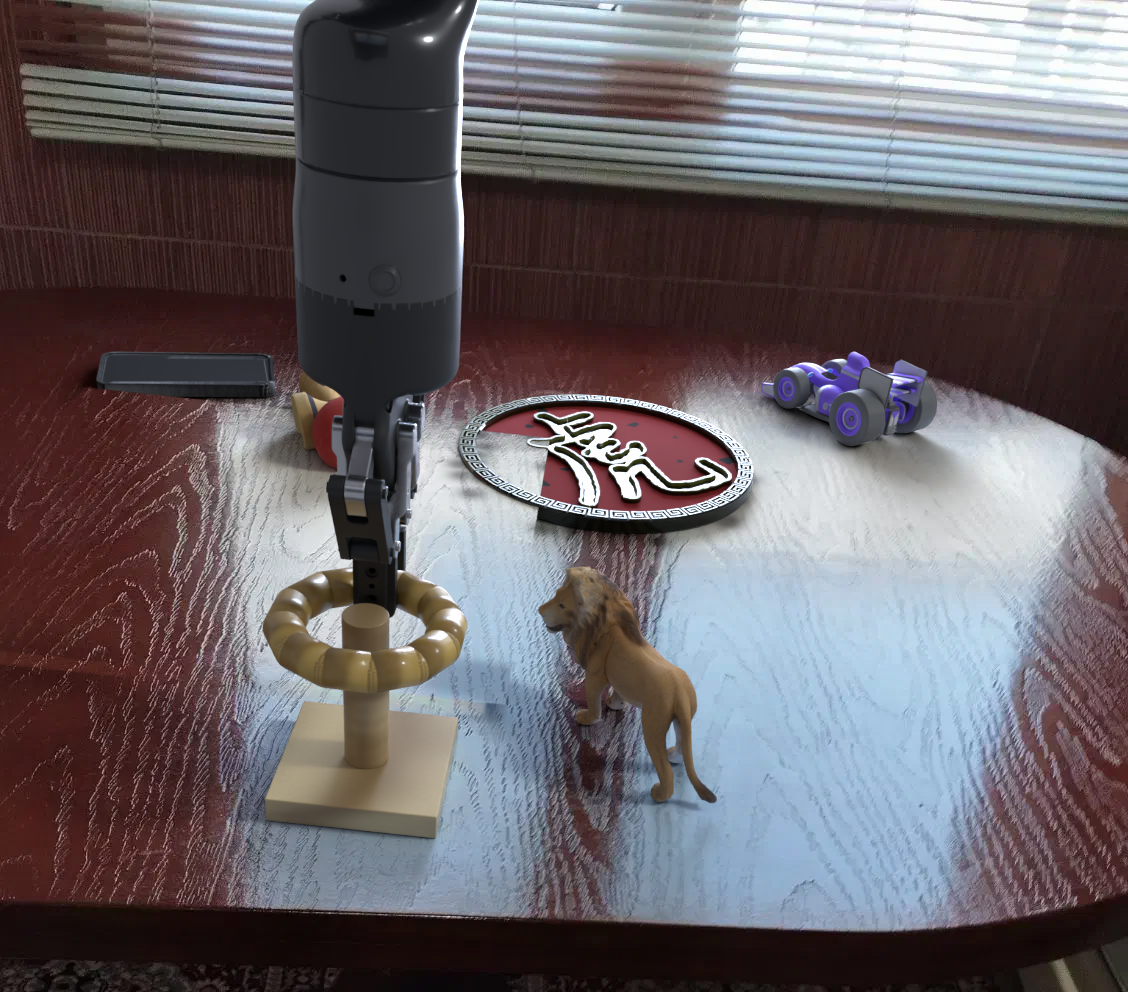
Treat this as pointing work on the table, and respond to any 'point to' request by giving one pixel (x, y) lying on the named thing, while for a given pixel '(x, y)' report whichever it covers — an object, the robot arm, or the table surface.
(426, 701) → the table surface
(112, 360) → the phone
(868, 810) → the table surface
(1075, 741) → the table surface
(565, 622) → the lion figurine
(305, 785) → the post
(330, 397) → the kendama
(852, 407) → the toy race car
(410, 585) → the ring
